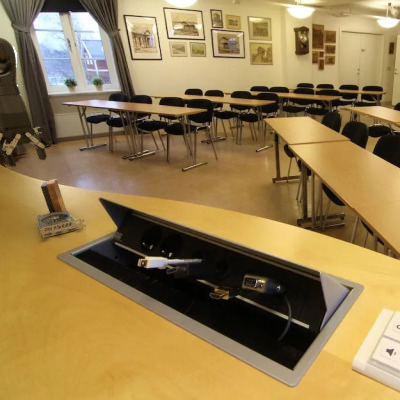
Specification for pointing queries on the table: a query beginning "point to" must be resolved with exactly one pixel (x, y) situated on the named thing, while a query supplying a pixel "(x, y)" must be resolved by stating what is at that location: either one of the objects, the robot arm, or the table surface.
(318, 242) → the table surface
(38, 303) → the table surface
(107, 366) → the table surface
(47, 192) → the brush
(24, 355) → the table surface
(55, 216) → the graphics card
